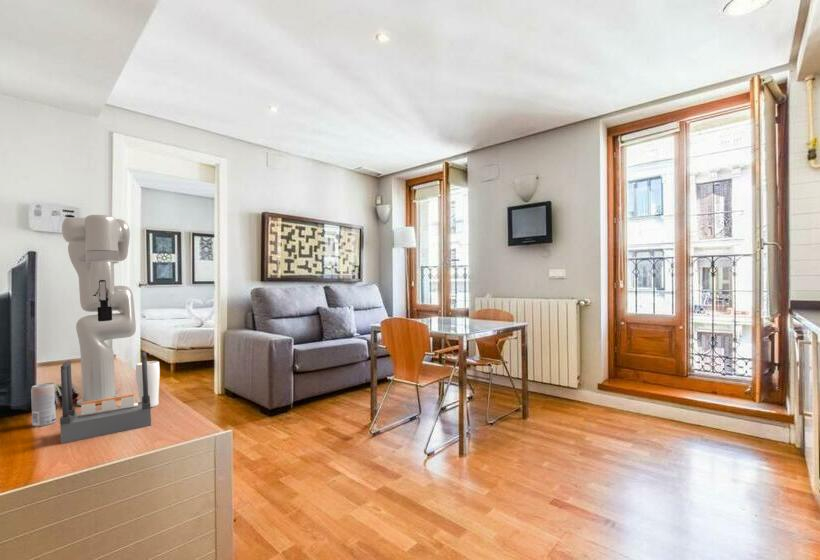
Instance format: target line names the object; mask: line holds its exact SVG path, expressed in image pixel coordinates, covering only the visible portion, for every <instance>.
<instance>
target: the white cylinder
mask: <svg viewBox="0 0 820 560" xmlns="http://www.w3.org/2000/svg"><path fill="white" fill-rule="evenodd" d="M160 376H161V368H160V361H158V360H151V361H150V360H149V361H148V360H147V378H148V396H150V409H152V408H154V407H157V406H158V405H159V403H160V402H159V399H160V397H159V395H160V393H159V392H160V380H161V379H160ZM135 377H136V383H137V385H136V386H137V391H138V397H139V402H142V397H143V376H142V362H139V363H136V364H135ZM151 407H152V408H151Z"/></svg>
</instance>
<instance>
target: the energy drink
mask: <svg viewBox="0 0 820 560" xmlns="http://www.w3.org/2000/svg"><path fill="white" fill-rule="evenodd" d="M55 389H56V386H55V384H54V383H53V382H47V383H39V384H35V385H32V386H31V389H30V400H31V419H32V420H31V424H32V427H34V426H35V428H40V427H39V426H41V427H45V426H49V424H50V425H52V424H54V423H56V421H57V414H56V413H57V411H56V410H57V409H56V390H55Z"/></svg>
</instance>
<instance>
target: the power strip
mask: <svg viewBox="0 0 820 560" xmlns="http://www.w3.org/2000/svg"><path fill="white" fill-rule="evenodd" d="M135 403H136V402H134V404H135ZM137 403H138V406H137V407H131V408H126V409H120V410H115V411H109V412H103V413H98V414H92V415H86V416H81V417H77V413H78V412H77V413H76V412H75V415H74V416H71V423H69V424H63V425H60V426H59V427H60V444H67V443H73V442H76V441H82V440H86V439H87V440H88V439H91V438H96V437H101V436H105V435H110V434H111V435H112V434H115V433H116V434H117V433H121V432H126V431H130V430H136V429H140V428H146V427H151V426H152V419H151V417H152V412H151V408H150V409H145V410H142V402H140V401H139V402H137ZM117 406H118V405H117ZM117 406H116V405H115V407H117ZM100 409H101V408H100ZM100 409H98V410H100ZM150 425H151V426H150ZM145 426H146V427H145Z"/></svg>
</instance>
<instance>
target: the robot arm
mask: <svg viewBox="0 0 820 560" xmlns="http://www.w3.org/2000/svg"><path fill="white" fill-rule="evenodd" d="M130 231H131V230H130V226H129V225H128V223H127V222H126V220H123V219H121V218H120V219H119V218H115V217H114V216H111V215H107V214H106V215H105V214H90V215H87V216H86V217H71V216H70V217H69V216H68V217H65V218H64V219H63V221H62V224H61V234H62V237H63V239H64V240H65V242H67V243H68V245H67V253H68V257H69V260H70V262H71V265H72V266H73V268H74V270H75V272H76V273H77V277H78V291H79V301H80V307H81V309H82V310H83V311H85V312H87V313H88V312H89V313H97V314H91V315H90V314H89V315H85V316H82V317H80V318H79V319H78V321H77V322H76V324H75V325H76V326H75V329H76V334H77V335H76V336H77V338H78V345H79V352H80V370H81V371H80V372H81V374H80V376H81V394H82V397H81V398H80V399H78V400H77V401H76V405H77V406H80V407H81V403H82V402H87V401H93V400H99V399H105V398H111V397H117V396H122V395H121V393H120V392H116V382H115V381H116V379H115V376H116V375H115V357H114V356H115V352H114V350H113V348H112V347H111V346H110V345H109V344H107V343H106V342H105V341H107V340H115V339H116V340H117V339H123V338H125V339H126V338H130V337H132V336H134V335H135V333H136V329H137V326H136V325H137V323H136V313H135V301H134V294H133V291H132V289H131V288H130V287H128V286H126V285H115V264H119V263H120V262H122V261H123V262H124V261H125V260H126V259H127V258H128V255H129V245H130V238H131V236H130V235H131V232H130ZM115 311H116V312H117V313H113V312H115ZM96 405H98V404H96ZM100 405H102V403H101V404H100Z"/></svg>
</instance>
